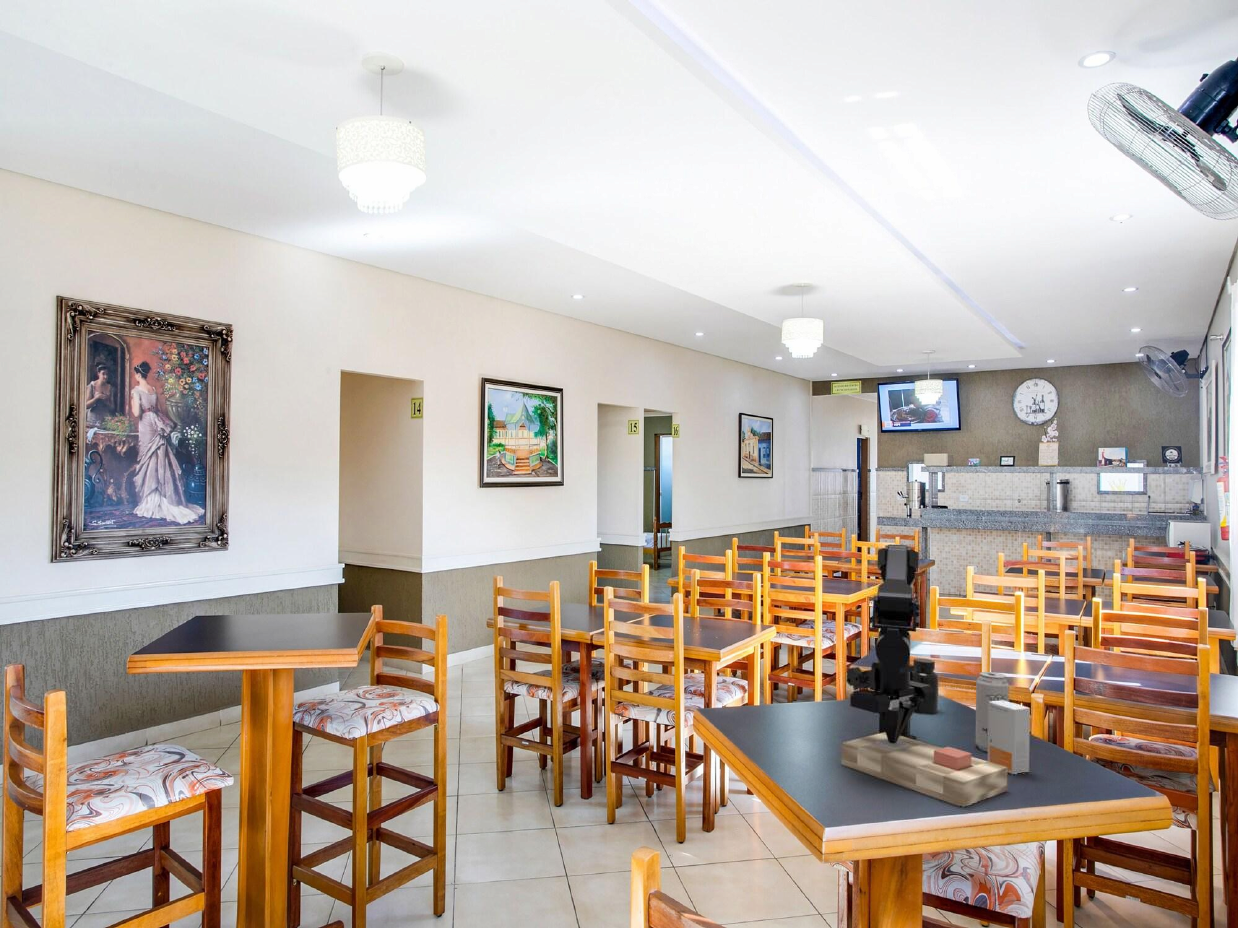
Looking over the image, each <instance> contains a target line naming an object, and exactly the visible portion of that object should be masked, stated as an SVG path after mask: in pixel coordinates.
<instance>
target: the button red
mask: <svg viewBox="0 0 1238 928" xmlns="http://www.w3.org/2000/svg"><path fill="white" fill-rule="evenodd" d="M940 748H941V749H938V750H934V764H937V765H941V766H944V767H947V768H950V769H953V770H956V771H960V770H963V769H966V768H969V767H971V762H972V757H973V756H972V752H967V751H965V750H961V749H958V748H955V747H951V746H945V747H940Z"/></svg>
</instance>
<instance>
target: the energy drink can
mask: <svg viewBox="0 0 1238 928" xmlns="http://www.w3.org/2000/svg"><path fill="white" fill-rule="evenodd" d="M975 684H976V685H975V686H976V687H975V689H976V690H975V691H976V692H975V744H976V745H977V747H978V749H979V750H981V751H983V752H987V753H988V713H989V702H990V701H1000V700H1004V701H1008V702H1010V695H1009V694H1010V683H1009V682H1008V680H1007V676H1006V675H1005V674H1002V673H997V672H990V671H981V672H979V676H978V678H977V679H976V682H975Z"/></svg>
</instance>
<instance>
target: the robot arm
mask: <svg viewBox="0 0 1238 928" xmlns="http://www.w3.org/2000/svg"><path fill="white" fill-rule="evenodd" d="M919 553H920V552H918V551H916V550H913V549H912V548H911V546H908V544H907V545H906V544H888V545H884V548H881V549H878V550H877V558H876V559H877V564H876V567H877V571H880V578H881V581H882V583H881V584H880V583H879V585H878V587H877V594H875V595H873V601H872V623H871V628H872V629H878V630H879V631H878V632H877V634H878V635H877V636H878V637H877V642H876V645H875V656H876V659H877V661H872V663H871V669H868V670H863V671H862V669H861V668H860V666H857V667H855V666H854V667H851V668H847V671H846V679H845V681H846V683H847V684H848V685H849V686H850V687H852V689H853V691H852V692H851V693H850V695H849V707H853V708H856V709H859V710H862V711H863V710H864V711H867V712H870V713H874V714H878V715H879V716H878V731H876V732H873V733H872V735H876V734H880V733H884V732H886V735H887V738H888V742H889V743H892V744H894V743H896V742H897V740H898V738H899V736H903V737H906V738H910V739H913V740H917V736H916V735H913V734H911V717H912V715H913V714H914V713H917V712H916V711H920V698H922V699H923V701H924V702H932V701H935V691H934V689H933V688H932V687H931V685H927V684H923V683H918V682H914V681H913V673H912V671H915V665H913V664H911V637H912V636H911V634H910V632H912V633H913V632H917V628H920V626H921V623H920V622H921V621H920V620H921V619H920V618H921V617H920V616H921V615H920V614H921V613H920V612H921V605H920V603H918V599H917V598H914V597H913V593H914V592H913V587H912V586H913V585H914V583H915V581H916V579H915V577H916V574H918V573H919V571H920V570H919V569H920V568H919V567H920V566H919V565H920V561H919V557H920V554H919ZM911 624H912V625H911ZM911 703H914V704H911Z"/></svg>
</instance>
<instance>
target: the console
mask: <svg viewBox="0 0 1238 928" xmlns="http://www.w3.org/2000/svg"><path fill="white" fill-rule="evenodd" d="M883 739H887V735H886V732H884V733H880V734H876V735H873V734H871V735H868V736H864V737H860V738H855V739H852V740H847V741H843V742H841V759H840V760H841V765H842V766H844V767H847V768H850V769H854V770H856V771H859V772H862V773H865V774H867V775H870V776H874V777H875V778H878V779H882V780H884V781H888V782H889V783H893V784H896V785H899V786H901V787H904V788H907V789H910V790H913V791H915V792H918V793H921V794H924V795H927V796H929V797H932V798H936V799H938V800H941V801H944V802H946V803H949V804H952V805H955V806H958V807H960V806H962V807H961V808H966V807H968V806H971V805H973V803H974V804H976V803H978V801H979V802H981V800H982V801H983V800H986V798H987V799H989V798H992V797H995V796H997V795H1000V794H1003V793H1005V792H1008V772H1007V767H1004V766H1001V765H997V764H994V763H991V762H987V760H984V759H980V758H977V757H973V756H972V762H971V767H969V768H966V769H963V770H960V771H956V770H953V769H950V768H947V767H944V766H941V765H937V764H934V750H938V749H941V748H942V747H939V746H935V745H934V744H933V745H932V744H929V743H926V742H923V741H919V740H917V739H915V740H913V739H910V738H906V737H903V736H899V738H898V741H901V742H904V743H908V744H910V748H907V749H903V750H899V751H893V750H890V749H887V748H884V747H881V746H877V745H875V741H879V740H883ZM965 806H966V807H965Z"/></svg>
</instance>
